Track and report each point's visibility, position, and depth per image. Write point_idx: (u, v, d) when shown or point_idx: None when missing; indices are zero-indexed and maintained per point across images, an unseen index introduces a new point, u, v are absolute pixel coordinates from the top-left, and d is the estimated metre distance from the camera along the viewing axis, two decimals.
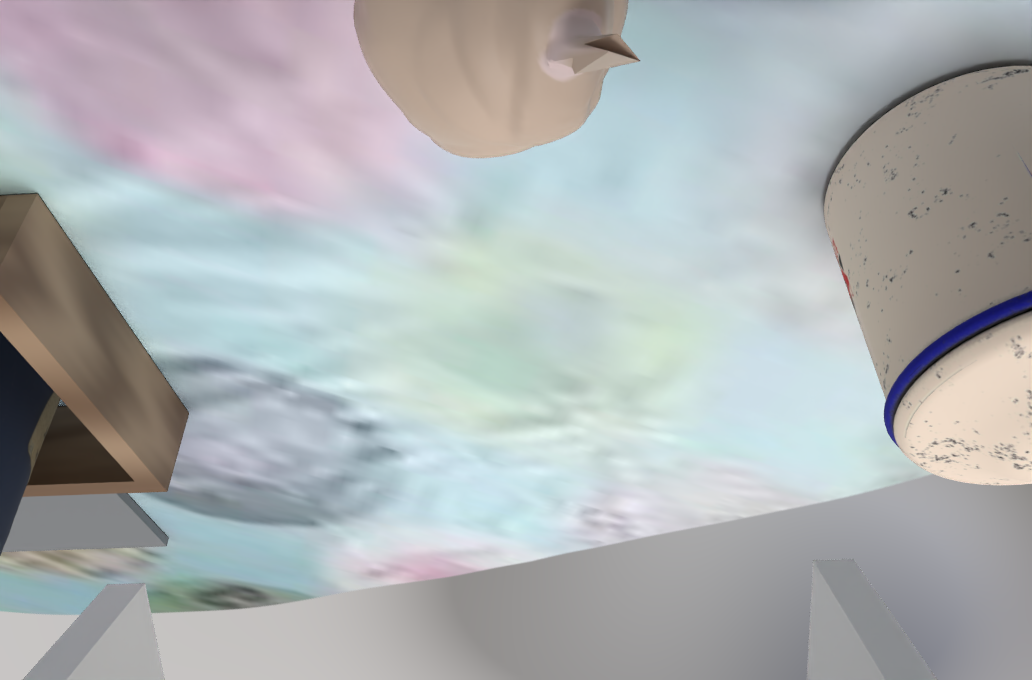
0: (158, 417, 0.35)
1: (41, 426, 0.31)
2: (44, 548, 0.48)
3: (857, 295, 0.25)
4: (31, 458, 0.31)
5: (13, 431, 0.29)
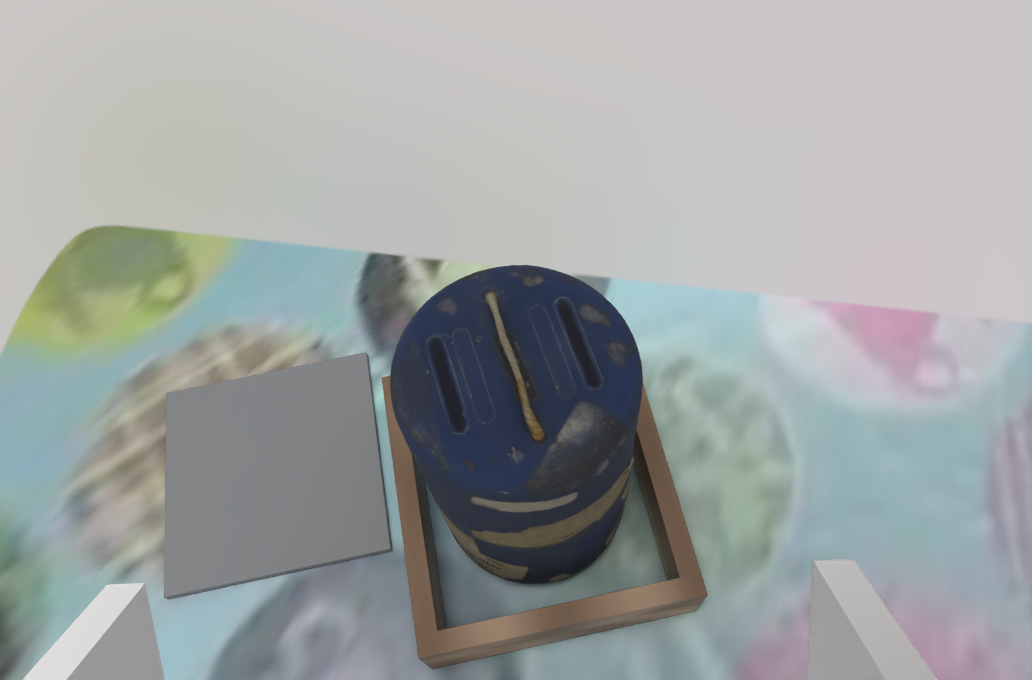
0: (475, 653, 0.39)
1: (517, 570, 0.39)
2: (170, 467, 0.46)
3: None
4: (513, 565, 0.38)
5: (553, 563, 0.38)
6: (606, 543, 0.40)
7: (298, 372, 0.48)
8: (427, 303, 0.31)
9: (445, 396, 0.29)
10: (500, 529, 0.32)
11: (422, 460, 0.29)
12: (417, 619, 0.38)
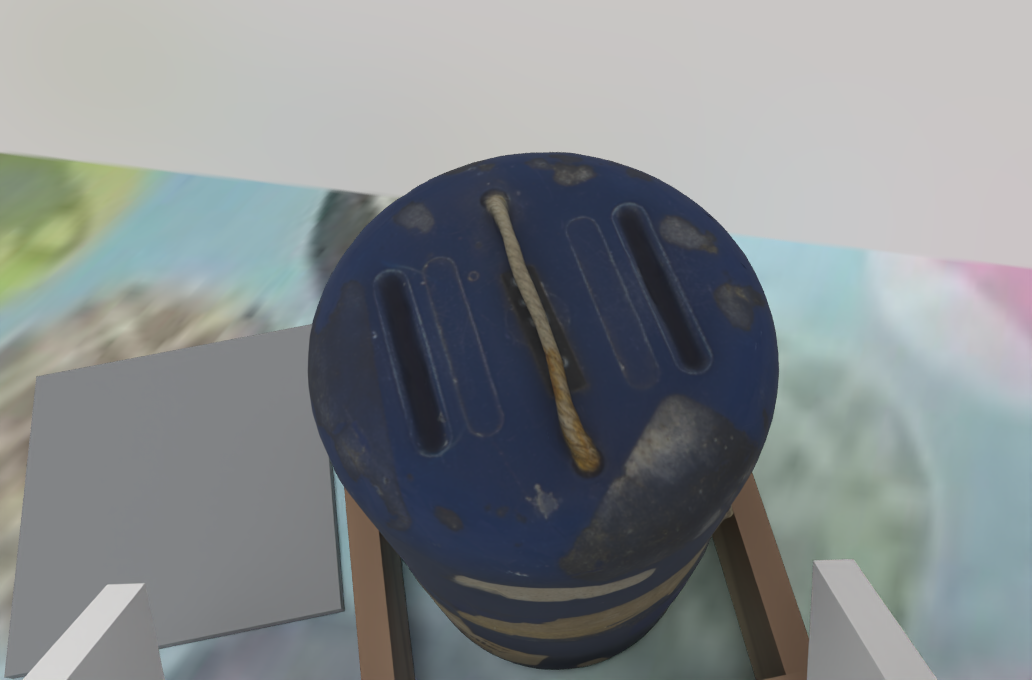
0: None
1: (529, 657, 0.25)
2: (32, 482, 0.32)
3: None
4: (524, 653, 0.24)
5: (587, 652, 0.24)
6: (664, 611, 0.27)
7: (222, 350, 0.34)
8: (381, 214, 0.17)
9: (408, 382, 0.15)
10: (507, 618, 0.18)
11: (361, 504, 0.15)
12: None
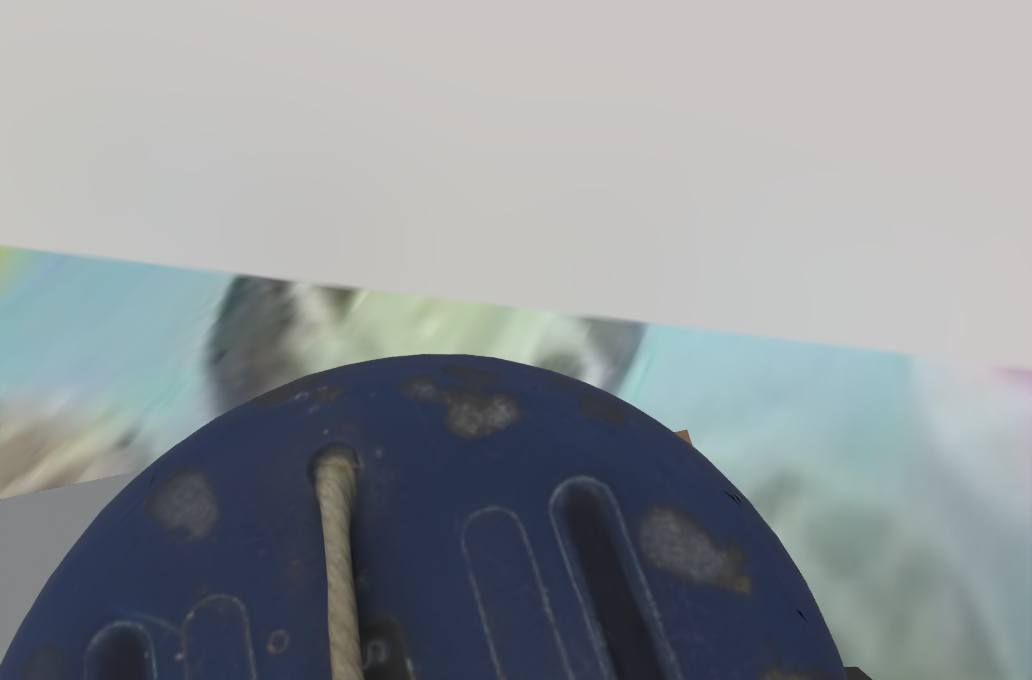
0: None
1: None
2: None
3: None
4: None
5: None
6: None
7: (83, 494, 0.27)
8: (131, 486, 0.09)
9: None
10: None
11: None
12: None
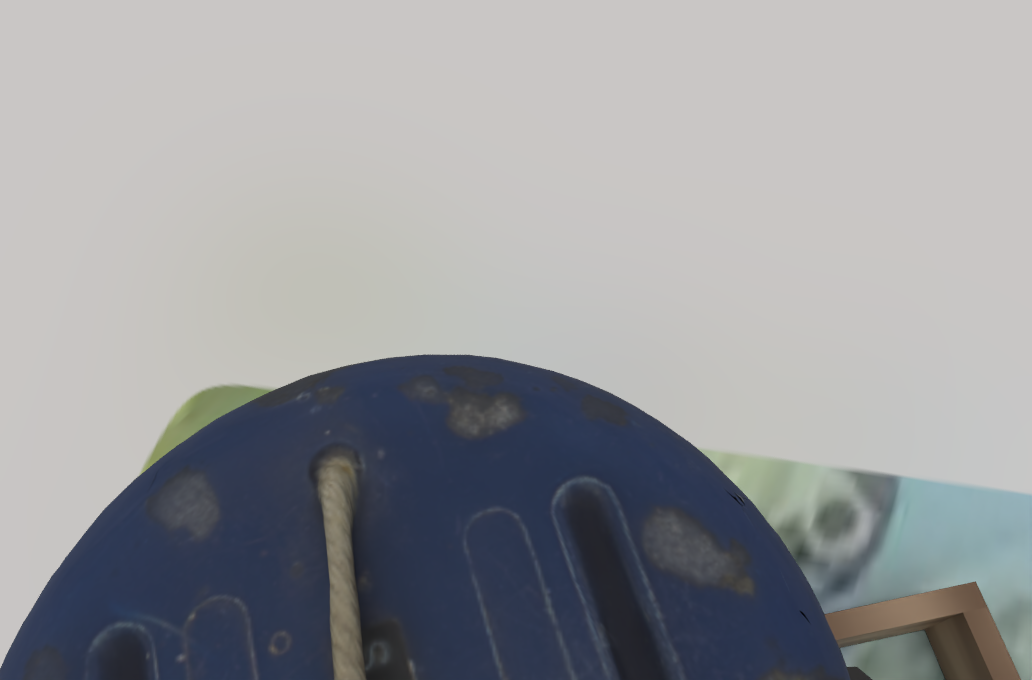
0: None
1: None
2: None
3: None
4: None
5: None
6: None
7: None
8: (133, 487, 0.09)
9: None
10: None
11: None
12: None
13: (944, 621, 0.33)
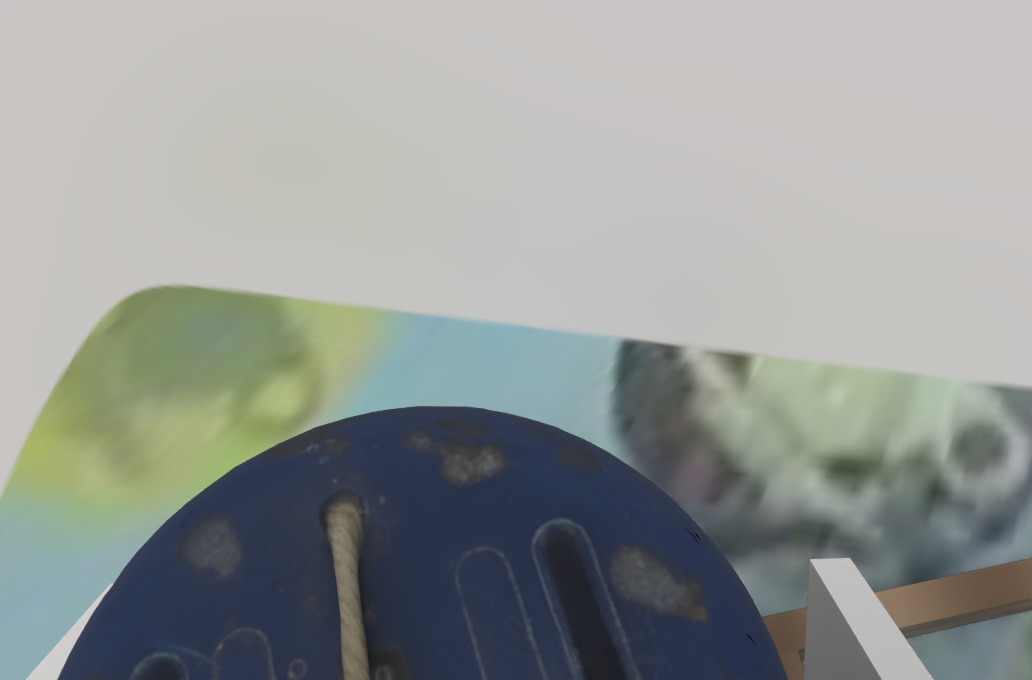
0: None
1: None
2: None
3: None
4: None
5: None
6: None
7: None
8: (163, 531, 0.11)
9: None
10: None
11: None
12: None
13: None
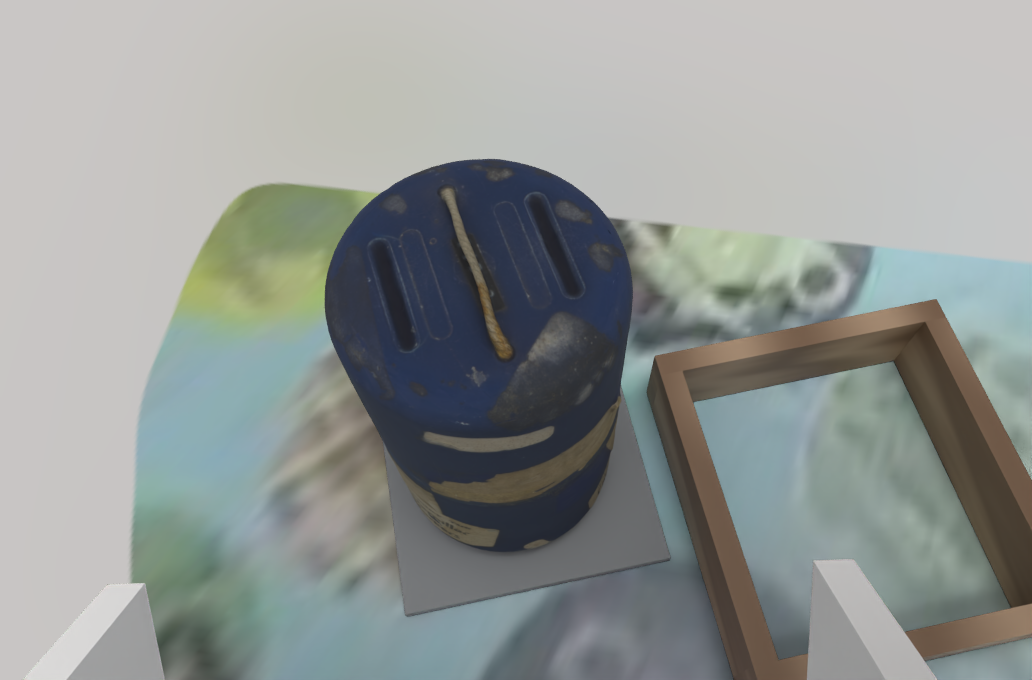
0: None
1: (486, 535, 0.33)
2: (391, 460, 0.39)
3: None
4: (481, 528, 0.32)
5: (527, 526, 0.32)
6: (589, 504, 0.35)
7: None
8: (371, 202, 0.26)
9: (391, 309, 0.24)
10: (462, 478, 0.27)
11: (362, 387, 0.23)
12: (751, 645, 0.31)
13: (910, 340, 0.39)
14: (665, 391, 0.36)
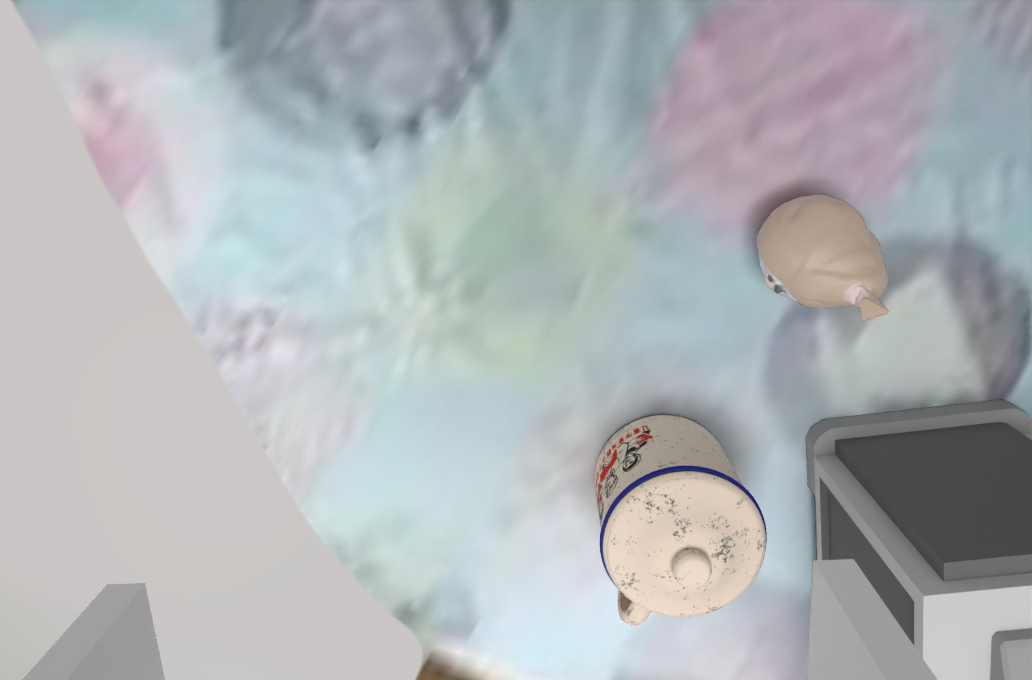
0: None
1: None
2: None
3: (661, 442, 0.47)
4: None
5: None
6: None
7: None
8: None
9: None
10: None
11: None
12: None
13: None
14: None
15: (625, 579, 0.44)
